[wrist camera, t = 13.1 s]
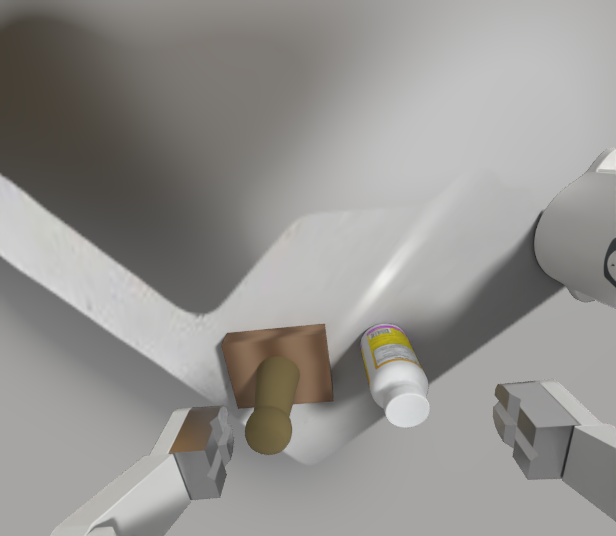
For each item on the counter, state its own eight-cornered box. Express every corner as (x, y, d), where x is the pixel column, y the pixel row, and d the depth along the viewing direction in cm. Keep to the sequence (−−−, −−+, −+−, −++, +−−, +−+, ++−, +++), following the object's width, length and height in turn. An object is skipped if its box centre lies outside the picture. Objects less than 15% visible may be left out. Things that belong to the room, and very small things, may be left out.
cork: (299, 392, 45) (294, 465, 35) (257, 391, 45) (239, 463, 35) (300, 356, 43) (294, 423, 32) (255, 355, 43) (236, 421, 33)
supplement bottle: (391, 367, 47) (417, 443, 35) (351, 350, 46) (363, 422, 34) (415, 332, 44) (452, 400, 32) (374, 313, 44) (396, 377, 32)
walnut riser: (324, 323, 44) (325, 335, 41) (332, 386, 48) (333, 401, 45) (227, 333, 45) (221, 345, 42) (242, 393, 49) (238, 408, 46)
